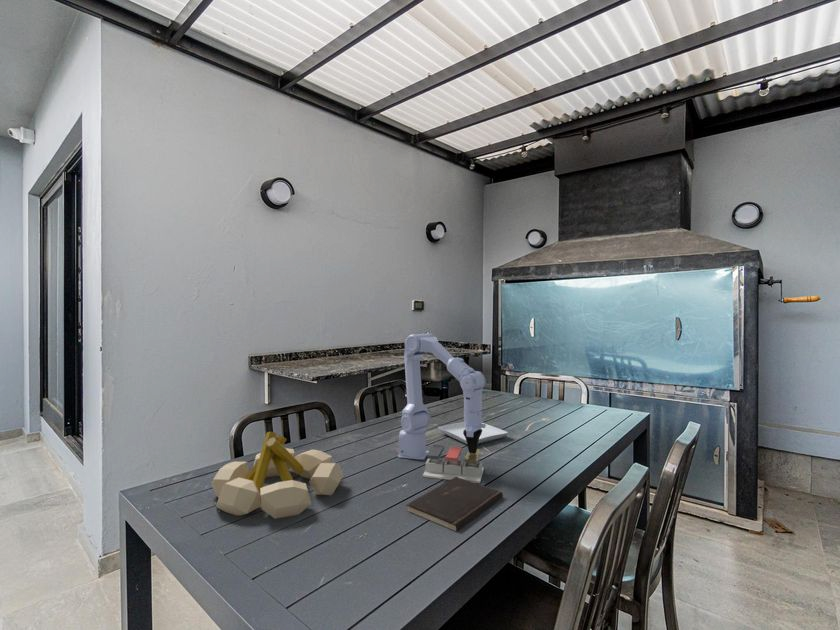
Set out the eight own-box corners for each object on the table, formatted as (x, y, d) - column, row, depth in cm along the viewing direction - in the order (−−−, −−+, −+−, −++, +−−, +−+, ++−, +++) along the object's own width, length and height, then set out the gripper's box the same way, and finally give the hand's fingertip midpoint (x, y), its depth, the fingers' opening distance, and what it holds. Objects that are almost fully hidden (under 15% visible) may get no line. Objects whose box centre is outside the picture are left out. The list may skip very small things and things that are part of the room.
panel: (422, 476, 132) (422, 466, 132) (430, 463, 142) (430, 454, 142) (480, 483, 127) (480, 472, 127) (483, 469, 138) (483, 459, 138)
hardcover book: (406, 512, 110) (406, 504, 110) (455, 484, 128) (456, 476, 128) (456, 534, 100) (456, 525, 100) (502, 500, 118) (503, 491, 118)
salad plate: (509, 439, 170) (509, 431, 169) (469, 449, 158) (469, 440, 157) (474, 426, 187) (474, 419, 187) (436, 435, 175) (436, 426, 175)
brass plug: (464, 471, 129) (464, 458, 129) (469, 460, 139) (469, 448, 138) (476, 472, 128) (476, 460, 128) (479, 461, 138) (479, 449, 138)
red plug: (445, 469, 130) (445, 457, 130) (451, 458, 140) (451, 446, 140) (456, 470, 129) (457, 458, 129) (461, 459, 139) (461, 447, 139)
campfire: (281, 461, 145) (281, 412, 144) (362, 481, 129) (362, 426, 129) (184, 504, 114) (183, 442, 113) (274, 536, 98) (274, 464, 98)
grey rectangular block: (426, 467, 132) (426, 455, 132) (433, 456, 141) (433, 444, 141) (437, 468, 131) (438, 456, 131) (444, 457, 141) (444, 445, 140)
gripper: (483, 417, 125) (482, 462, 125) (487, 405, 139) (487, 446, 139) (459, 415, 126) (459, 460, 127) (466, 404, 141) (466, 444, 141)
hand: (472, 452), depth 133 cm, fingers closed
